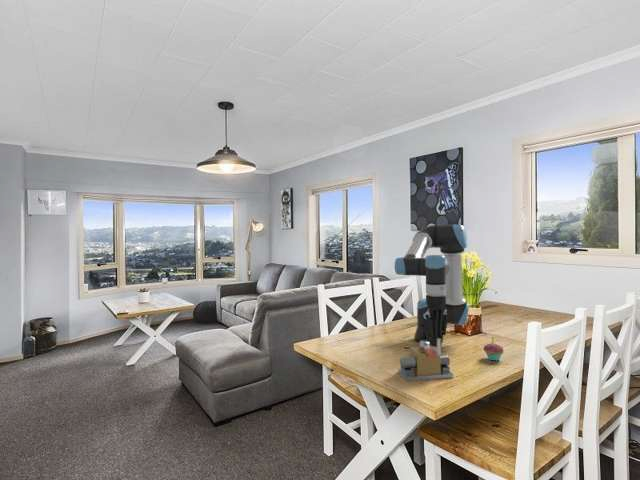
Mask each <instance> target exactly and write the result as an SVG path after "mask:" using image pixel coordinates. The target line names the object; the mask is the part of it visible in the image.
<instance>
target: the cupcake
mask: <svg viewBox="0 0 640 480" xmlns="http://www.w3.org/2000/svg"><path fill="white" fill-rule="evenodd" d="M494 341H495V340H494V334H492V335H491V343H488V344H485V345H484V346H483V352H484V353H485V354H486V356H487V359H488V360H489V361H491V360H494V361H493V362H498V361H497V360H499V361H500V359H501V357H502V354H504V353H505V352H504V349H503V346H500V345H499V344H497V343H495V342H494ZM495 360H496V361H495Z"/></svg>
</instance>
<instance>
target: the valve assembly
mask: <svg viewBox="0 0 640 480" xmlns="http://www.w3.org/2000/svg"><path fill="white" fill-rule="evenodd" d="M430 348H432V349H433V346H432V345H430ZM450 360H451V359H450V357H449V355H448V354H441V355H439V356H438V355H436V359H428V358H427V356H426V355H425V351H423V350H420V346H414V347H413V346H412V347H409V356H408V357H407V356H406V357H400V359H399V364H400V367H398V368H397V373H398V374H399V375H400V376H401V378H403V379H404V380H405V382H412V381H427V380H429V381H430V380H438V379H439V380H442V379H453V378H454V373H452V372H451V370H450V365H451V364H450V363H451V361H450Z"/></svg>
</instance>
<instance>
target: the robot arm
mask: <svg viewBox="0 0 640 480" xmlns="http://www.w3.org/2000/svg"><path fill="white" fill-rule="evenodd" d="M430 248H431V249H433V248H435V249H437V248H438V249H439V252H440V253H441V254H442V255H441V254H432V255H431V254H429V255H426V256H425V254H426V253H427V250H429V249H430ZM466 248H468V237H467V232H466V228H465V226H464V225H462V224H455V223H454V224H438V225H436V224H432V225H428V226H426V227H424V228H422V229H419V231H417V232H416V233H415V234H414V236H413V238H412V243H411V245H410V247H409V248H408V249H407V251H406V254H405V255H404V257H397V258H396V259H395V261H394V272H395V274H396V275H399V276H420V277H421V276H422V277H425V294H426V295H425V298H422V299H421V298H420V299H419V300H418V301H417V303H416V304H417V305H416V309H417V310H416V312H417V313H416V315H417V317H416V319H417V322H416V323H417V327H416V328H415V332H414V339H413V340H414V341H415V342H416V343H419V344H420V341H429V342H430V346H432V347H433V351H434V352H435V353H436V355H438V356H439V355H442V352H441V346H442V343H444V342H443V341H444V337H445V336H446V334H447V333H446V332H447V326H448V325H456V326H459V325H461V326H465V325H466V324H467V323H468V317H469V310H470V309H469V308H470V303H468V302H467V299H466V298H465V297H464V296H463V295H464V294H463V270H462V269H463V268H462V267H463V266H462V253H464V252H465V249H466ZM424 256H425V258H424Z"/></svg>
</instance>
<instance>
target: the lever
mask: <svg viewBox="0 0 640 480" xmlns="http://www.w3.org/2000/svg"><path fill="white" fill-rule="evenodd" d="M430 346H431V345H430V342H429V341H420V343H419V347H420V350H423V351H425V355H426V356H427V358H428V359H436V353H435V352H434V351H433V349H432V348H430Z"/></svg>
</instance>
